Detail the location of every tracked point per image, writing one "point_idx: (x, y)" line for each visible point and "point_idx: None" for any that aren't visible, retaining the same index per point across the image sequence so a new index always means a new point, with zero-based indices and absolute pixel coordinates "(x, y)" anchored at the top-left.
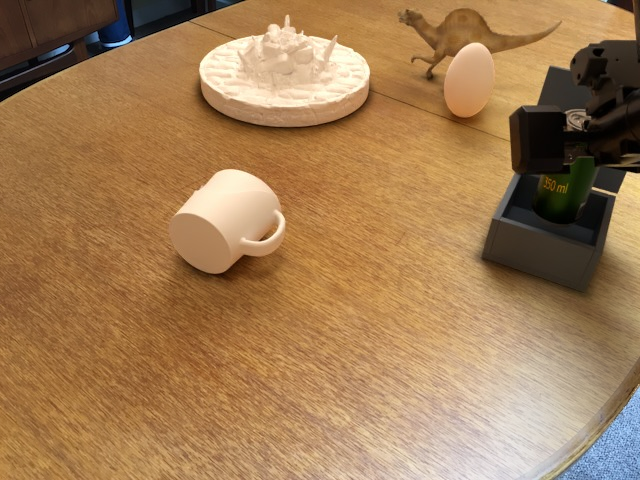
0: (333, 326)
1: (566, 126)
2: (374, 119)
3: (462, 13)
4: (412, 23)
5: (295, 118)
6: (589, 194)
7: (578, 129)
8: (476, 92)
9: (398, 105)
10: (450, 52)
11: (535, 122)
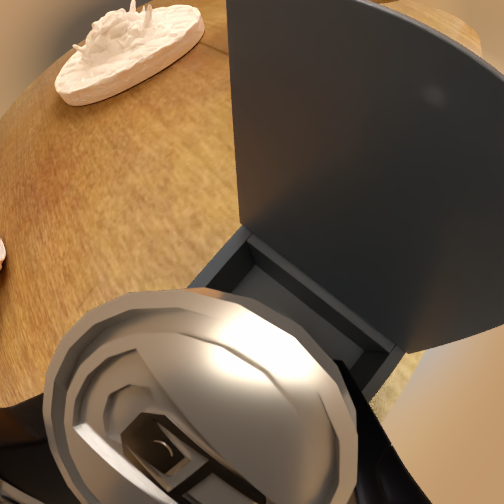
0: (20, 392)
1: (1, 478)
2: (175, 77)
3: None
4: None
5: (91, 96)
6: (360, 332)
7: (77, 495)
8: None
9: (216, 56)
10: None
11: None
